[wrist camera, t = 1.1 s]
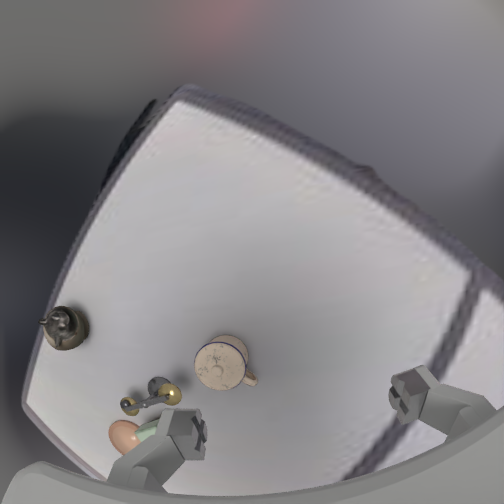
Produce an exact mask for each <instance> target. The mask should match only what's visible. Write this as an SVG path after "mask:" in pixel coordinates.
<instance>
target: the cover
mask: <svg viewBox="0 0 504 504" xmlns="http://www.w3.org/2000/svg"><path fill="white" fill-rule="evenodd" d="M159 420H160V419H158V420H155V421H152V422H149V423H146V424H143V425H141V426H140V427H139V428H138V429H137V430H136V431H135V432H134V433H135V434H136V436H137V437H138V439H139V440H140V441H141V442H142V441H144V440H145V439H146V438H148V437H149V436H150V435H155V432H156V429H157V426H158V423H159Z"/></svg>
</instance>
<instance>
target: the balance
mask: <svg viewBox="0 0 504 504" xmlns="http://www.w3.org/2000/svg"><path fill="white" fill-rule="evenodd" d="M148 392H149V394H150V395H151V396H150V397H149V398H147V399H146V400H143V401H142V402H140V403H137V402H136V401H135V400H134V399H132V398H130V397H125V398H123V399H122V400H121V402H120V405H121V408H122V410H123V411H124V412H125V413H126V414H127V415H130V416H135V415H137V414H138V412H139V409H140V408H143V407H144V408H147V407H149V406H151V405H154V404H157V403H161V402H162V403H165V404H167V405H176V404H178V403H179V402H180V401H181V399H182V394H181V391H180V389H179V388H178V387H177V386H175V385H174V384H171V383H170V382H169V381H168V380H167V379H165V378H163V377H155V378H153V379H152V380H151V381H150V382H149V384H148Z"/></svg>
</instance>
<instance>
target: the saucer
mask: <svg viewBox="0 0 504 504" xmlns="http://www.w3.org/2000/svg"><path fill="white" fill-rule="evenodd" d="M138 428H139V426H138V425H136V424H134V423H132V422H130V421H125V420H119V421H116V422H115V423H113V424H112V425H111V426H110V428H109V438H110V441H111V443H112V444H113V446H114V447H115V448H116V449H117V450H118V451H119V452H120V453H121V454H122V455H125V454H126V453H127V452H129V451H130V450H132V449H133V448H134V447H136V446H137V445H138V444H140V443H141V441H140V440H139V439H138V437H137V436H136V434H135V433H134V432H135V431H136V430H137V429H138Z"/></svg>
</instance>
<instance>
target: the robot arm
mask: <svg viewBox="0 0 504 504" xmlns="http://www.w3.org/2000/svg"><path fill="white" fill-rule="evenodd" d="M391 383H392V385H393V386H392V387H391V388H390V389H389V402H390V404H391V406H392V408H393V409H395V410H397V417H398V419H399V420H400V422H401V424H402V425H403V424H406V423H409V422H412V421H414V420H417V419H419V420H420V421H422V422H424V423H426V424H428V425H430V426H431V427H433V428H435V429H437V430H439V431H441V432H443V433H444V434H446V435H448V436H447V438H446V440H445V442H444V443H443V444H441V445H439V446H437V447H435V448H433V449H430V450H428V451H426V452H424V453H422V454H420V455H417V456H415V457H413V458H410V459H408V460H406V461H403V462H401V463H398V464H395V465H393V466H390V467H387V468H385V469H382V470H379V471H376V472H373V473H370V474H366V475H363V476H360V477H356V478H353V479H349V480H345V481H341V482H337V483H333V484H329V485H324V486H319V487H314V488H308V489H303V490H296V491H290V492H282V493H273V494H262V495H248V496H197V495H182V494H172V493H168V492H167V491H166V490H165V489H164V488H163V487H162V485H163V484H164V483H165V482H166V481H167V480H168V479H169V478H170V477H171V476H172V475H173V474H174V473H175V471H176V470H177V469H178V468H179V467H180V466H181V465H182V464H183V463H184V462H185V461H184V460H204V457H205V450H206V448H205V446H204V443H205V442H206V441H207V427H206V424H205V421H203V420H202V419H201V417H202V414H201V412H200V409H168V408H165V409H164V410H163V411H162V414H161V417H160V420H159V423H158V426H157V429H156V432H155V435H150V436H149V437H148V438H146V439H145V440H144V441H142V442H141V443H140V444H138V445H137V446H136V447H134V448H133V449H132V450H130V451H129V452H127V453H126V454H125V455H123V456H122V457H120V458H119V459H118V460H116V461H115V462H114V464H113V467H112V469H111V472H110V474H109V477H108V479H107V482H105V481H101V480H97V479H94V478H90V477H87V476H83V475H80V474H77V473H74V472H71V471H68V470H66V469H63V468H60V467H57V466H55V465H52V464H50V463H47V462H44V461H39V462H36V463H34V464H32V465H30V466H28V467H26V468H24V469H22V470H20V471H19V472H17V474H16V475H15V476H14V478H13V480H12V482H11V483H10V485H9V487H8V489H7V492H6V494H5V496H4V498H3V501H2V503H1V504H504V406H502V407H501V408H500V409H498V410H496V409H495V408H494V407H493V406H492V405H491V404H490V402H489V401H488V400H487V399H486V398H485V397H484V396H482V395H479V394H475V393H472V392H469V391H465V390H462V389H459V388H456V387H452V386H449V385H446V384H440V383H439V382H438V381H437V380H436V379H435V377H434V376H433V375H432V374H431V373H430V372H429V370H428V369H427V368H426V367H425V366H424V365H420V366H418V367H415V368H413V369H410V370H407V371H404V372H401V373H398V374H395V375H393V376H392V378H391Z"/></svg>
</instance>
